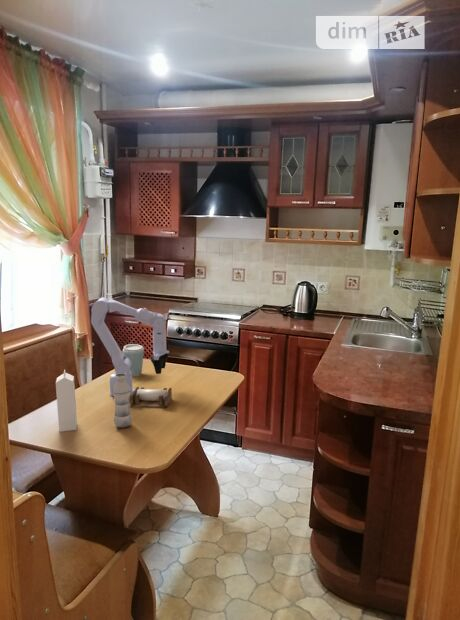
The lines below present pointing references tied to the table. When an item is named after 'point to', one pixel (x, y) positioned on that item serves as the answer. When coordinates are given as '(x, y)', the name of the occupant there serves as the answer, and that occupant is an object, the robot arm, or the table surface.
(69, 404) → the milk
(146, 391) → the cylinder
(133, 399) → the holder
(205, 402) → the table surface
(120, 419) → the plastic bottle
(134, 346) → the disposable coffee cup
